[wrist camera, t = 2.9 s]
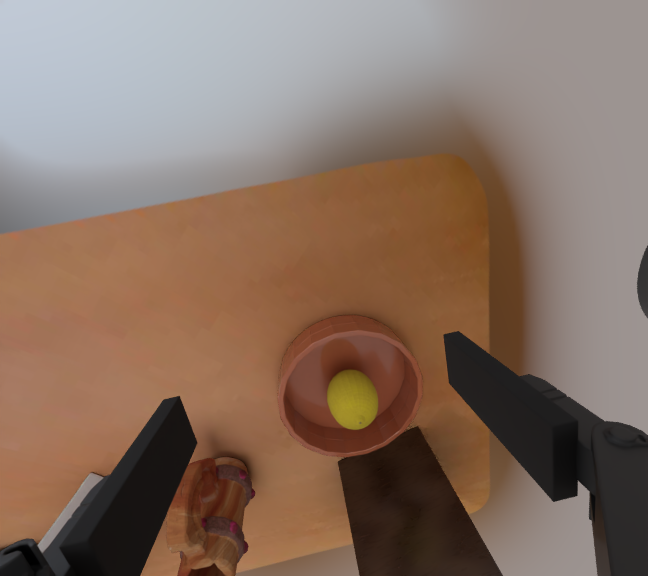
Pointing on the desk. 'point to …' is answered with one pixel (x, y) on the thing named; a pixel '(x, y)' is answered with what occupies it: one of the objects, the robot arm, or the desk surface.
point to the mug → (210, 517)
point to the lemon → (352, 399)
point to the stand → (409, 514)
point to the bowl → (333, 357)
